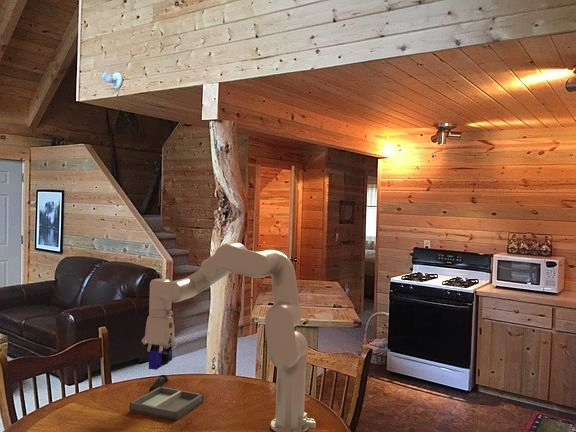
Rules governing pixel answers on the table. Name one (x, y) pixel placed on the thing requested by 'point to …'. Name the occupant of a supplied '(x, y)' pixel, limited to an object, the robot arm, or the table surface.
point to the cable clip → (157, 359)
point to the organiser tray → (166, 403)
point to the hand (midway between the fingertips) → (158, 362)
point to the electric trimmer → (159, 382)
